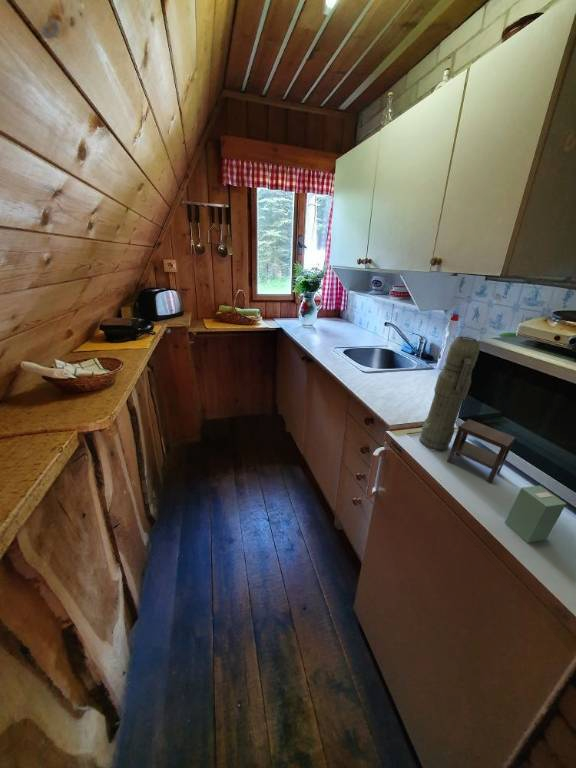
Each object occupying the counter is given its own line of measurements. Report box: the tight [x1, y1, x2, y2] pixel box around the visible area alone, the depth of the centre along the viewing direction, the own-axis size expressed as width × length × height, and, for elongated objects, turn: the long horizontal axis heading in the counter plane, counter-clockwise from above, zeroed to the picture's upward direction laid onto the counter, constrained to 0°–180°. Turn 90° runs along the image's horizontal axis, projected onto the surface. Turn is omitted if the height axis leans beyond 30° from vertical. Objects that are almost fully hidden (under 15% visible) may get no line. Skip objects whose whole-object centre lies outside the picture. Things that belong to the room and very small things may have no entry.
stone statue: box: [419, 336, 480, 452], centre depth 93 cm, size 9×12×35 cm
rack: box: [446, 418, 516, 484], centre depth 87 cm, size 12×8×12 cm, turn 42°
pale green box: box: [504, 485, 567, 544], centre depth 66 cm, size 6×6×10 cm
